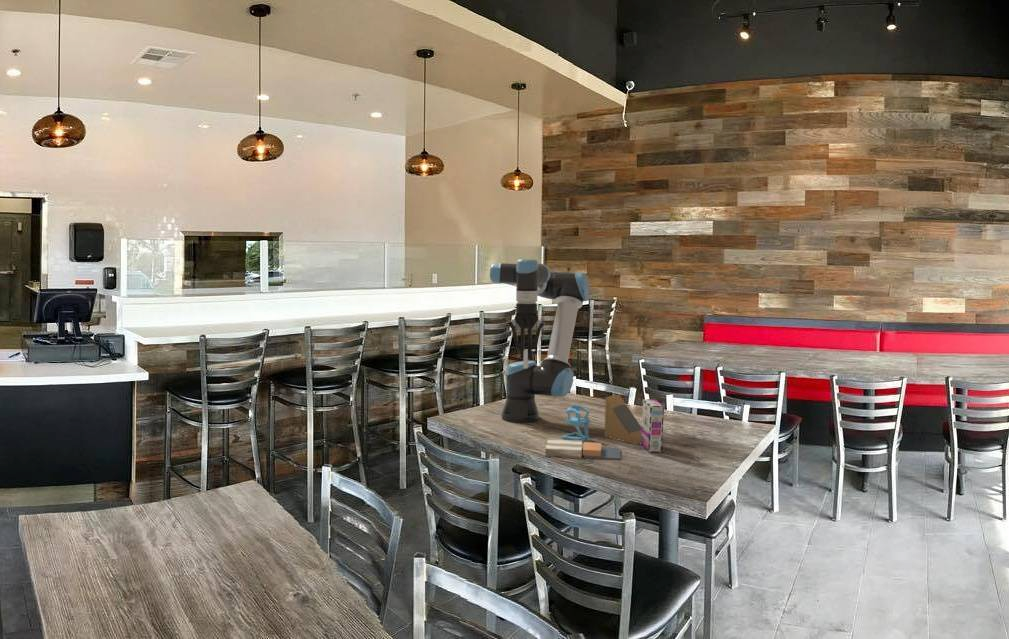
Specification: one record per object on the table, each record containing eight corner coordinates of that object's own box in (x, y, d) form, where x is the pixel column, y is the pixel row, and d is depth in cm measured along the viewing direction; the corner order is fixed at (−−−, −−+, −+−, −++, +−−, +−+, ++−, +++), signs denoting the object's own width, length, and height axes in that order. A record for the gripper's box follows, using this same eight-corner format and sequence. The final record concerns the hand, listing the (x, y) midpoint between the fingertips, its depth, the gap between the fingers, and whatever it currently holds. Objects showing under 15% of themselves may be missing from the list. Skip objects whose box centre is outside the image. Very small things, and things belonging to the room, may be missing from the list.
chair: (580, 443, 248) (580, 410, 247) (561, 438, 254) (562, 406, 252) (592, 438, 254) (593, 406, 252) (574, 434, 259) (575, 403, 258)
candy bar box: (662, 453, 237) (664, 406, 235) (648, 453, 237) (650, 406, 235) (654, 443, 248) (656, 398, 246) (640, 443, 248) (642, 398, 246)
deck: (547, 445, 244) (548, 438, 244) (582, 447, 242) (582, 440, 242) (545, 456, 232) (545, 448, 232) (581, 457, 231) (581, 450, 230)
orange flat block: (583, 447, 241) (583, 442, 240) (601, 448, 240) (601, 442, 239) (582, 455, 232) (582, 449, 231) (600, 456, 231) (600, 450, 231)
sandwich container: (638, 445, 246) (639, 404, 245) (603, 436, 257) (605, 397, 256) (652, 440, 252) (653, 400, 251) (617, 432, 263) (618, 393, 262)
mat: (585, 447, 242) (585, 446, 242) (619, 449, 241) (619, 447, 241) (584, 458, 231) (584, 456, 230) (620, 459, 229) (620, 458, 229)
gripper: (507, 303, 244) (506, 369, 246) (544, 303, 242) (543, 370, 245) (509, 301, 251) (509, 365, 254) (545, 302, 250) (544, 366, 252)
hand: (525, 367), depth 249 cm, fingers closed
